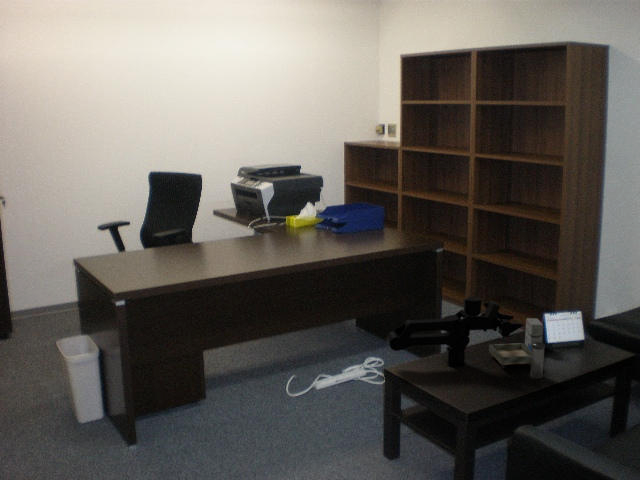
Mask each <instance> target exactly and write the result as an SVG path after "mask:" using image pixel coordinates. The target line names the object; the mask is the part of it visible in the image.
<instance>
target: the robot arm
mask: <svg viewBox="0 0 640 480" xmlns="http://www.w3.org/2000/svg"><path fill="white" fill-rule="evenodd" d="M483 306H484V310H485V312H483V313H482V297H479V296H468V297H466V298H463V309H462V308H461V309H460V310H459V311H457V312H456V313H455V314H451V315H446V316H444V317H442V318H431V319H429V318H427V319H413V320H412V319H407V320H406V321H404V322H403V323H402V324H401V325H399V326H398V327H395V329H394V330H393V331H390V332H389V333H388V334H387V336H386V342H387V344H388V346H389V347H390V349H391V350H393V352H398V351H403V350H407V349H408V348H411V347H418V346H419V347H420V346H422V347H423V346H439V345H443V346H444V345H445V346H446V349H445V350H446V351H445V359H444V361H445V363H446V364H447V366H448V367H463V366H465V365H466V364H465V361H466V360H465V359H466V357H465V356H466V352H465V350H466V349H467V346H469V344H470V341H471V340H470V337H469V336H471V335H470V333H471V332H470V331H483V332H487V331H489V330H490V331H491V330H492V331H493V332H497V333H498V334H499V335H501V336H502V337H503V338H509V336H510V335H511V334H512V333H514V332H516V331H517V330H519V329H521V328H523V325H524V324H523V323H520V322H511V321H512V320H514V316H513V315H510V314H506V313H502V312H500V310H501V304H499V303H498V302H495V301H493V300H492V299H491V300H488V301H484V302H483ZM431 331H432V332H433V331H434V332H435V331H442V332H438V333H437V332H436V333H434V332H433V333H420V334H419V333H418V334H414V332H415V333H416V332H431ZM443 331H445V332H443Z"/></svg>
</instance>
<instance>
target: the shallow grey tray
mask: <svg viewBox="0 0 640 480" xmlns="http://www.w3.org/2000/svg"><path fill="white" fill-rule="evenodd" d="M488 346H489V347H488V351H489V353H490V354H491V358H492V359H496V360H497V361H498V363H499V364H500V365H501V369H507V366H508V365H526V364H528V368H531V355H532V351H530V350H529V349H528V347H527V346H526V345H525V343H523V342H521V343H520V342H518V343H515V342H514V343H498V344H497V343H495V344H488Z"/></svg>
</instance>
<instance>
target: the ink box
mask: <svg viewBox="0 0 640 480" xmlns="http://www.w3.org/2000/svg"><path fill="white" fill-rule="evenodd" d="M525 319H526V320H525V335H524V336H525V337H524V345H525V346H526V347H527V348H528V349H529V350H530V351H532V343H533V342H541V343H543V334H544V324H543V323H542V322H541V321H540V320H539V319H538V318H536V317H535V318H533V317H532V318H531V317H527V318H525Z"/></svg>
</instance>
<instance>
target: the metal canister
mask: <svg viewBox="0 0 640 480" xmlns="http://www.w3.org/2000/svg"><path fill="white" fill-rule="evenodd" d="M545 347H546V345H545V343H544V342H542V343H541V342H533V343H532V355H531V367H530V371H529V372H530V373H529V376H530V377H531V378H533V379H537V380H539V379H542V378H543V375H544V373H543V370H544V356H545Z"/></svg>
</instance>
